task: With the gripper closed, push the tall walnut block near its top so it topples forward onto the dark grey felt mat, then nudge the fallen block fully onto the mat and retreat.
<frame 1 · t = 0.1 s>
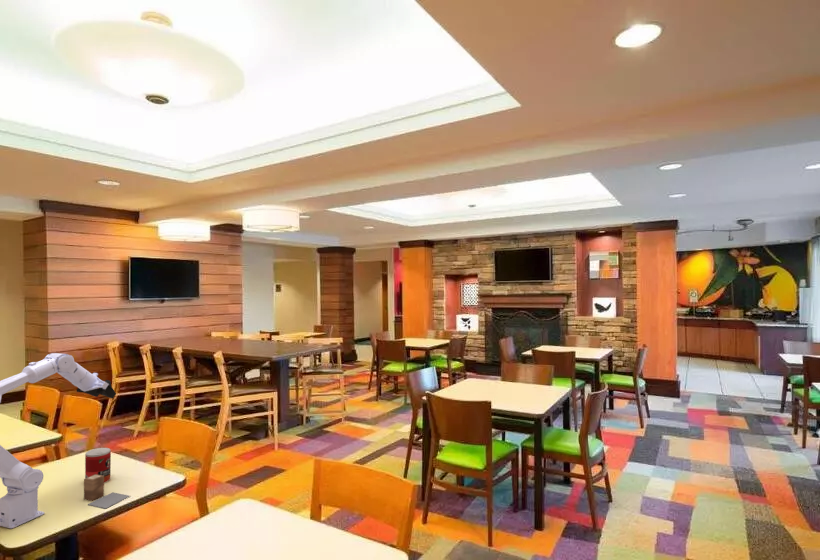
hand: (106, 395, 170), 32 cm above the table, tool tilted 50°, fingers open, 7 cm apart
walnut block: (93, 497, 158), on the table
canned food: (97, 481, 170), on the table
felt mat: (109, 500, 155), on the table
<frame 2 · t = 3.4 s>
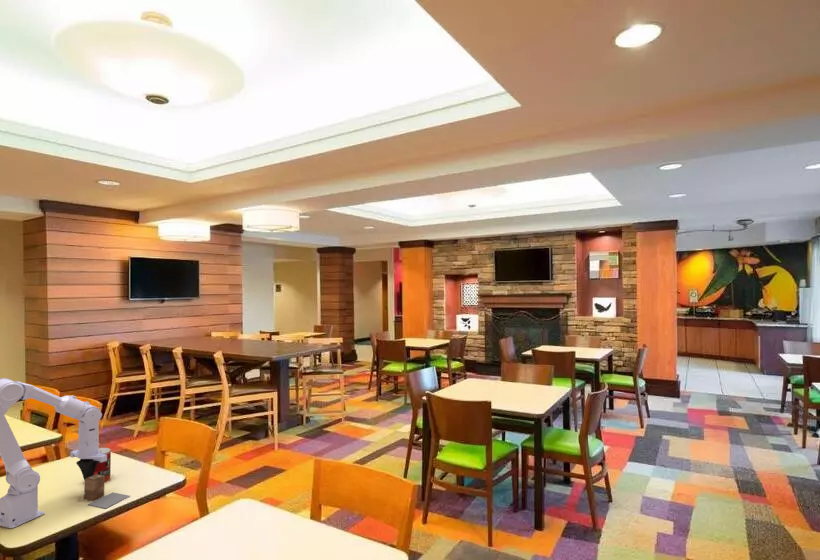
hand: (88, 479, 158), 6 cm above the table, tool pointing down, fingers closed
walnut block: (93, 497, 158), on the table, touching gripper
everything else where it was.
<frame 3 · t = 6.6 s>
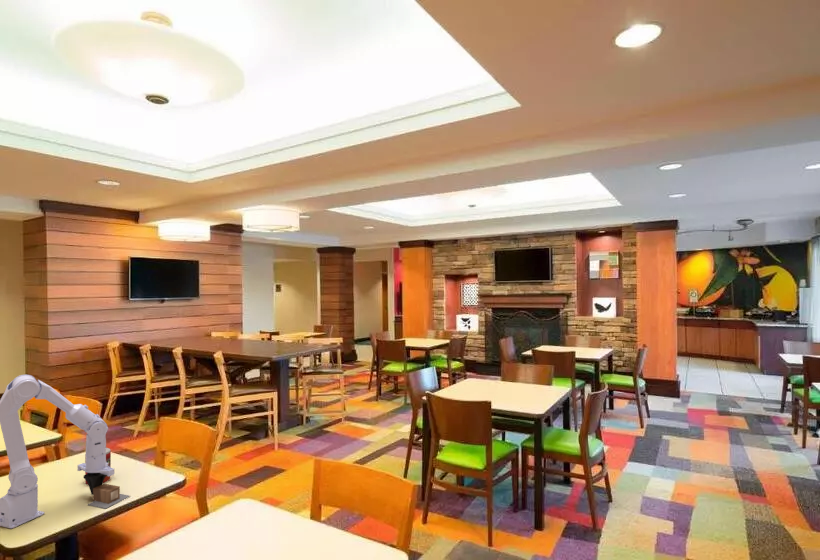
hand: (95, 493, 157), 1 cm above the table, tool pointing down, fingers closed
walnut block: (98, 491, 157), point 2 cm above the table, tilted 90°, touching felt mat, gripper
everything else where it was.
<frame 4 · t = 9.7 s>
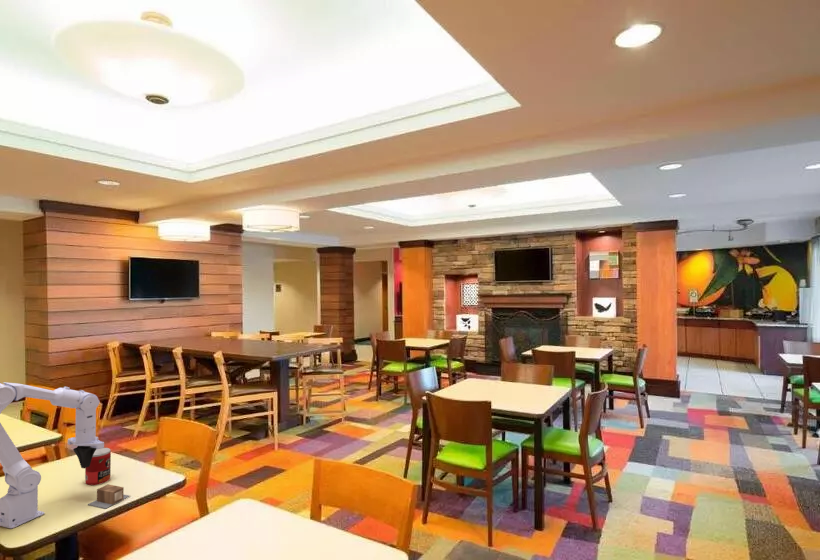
hand: (85, 467, 159), 10 cm above the table, tool pointing down, fingers closed
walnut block: (102, 492, 156), point 2 cm above the table, tilted 90°, touching felt mat
everything else where it was.
at the end: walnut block tilted 90°; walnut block inside the target area on the felt mat (2.4 cm from its centre), point 2.3 cm above the felt mat's base; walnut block touching felt mat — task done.
